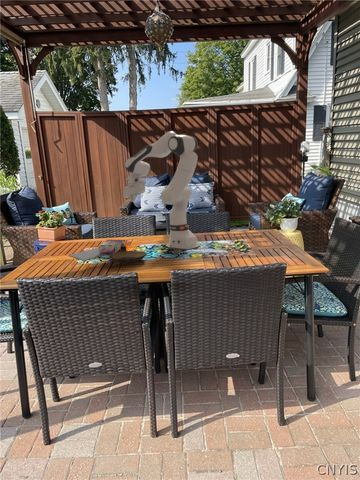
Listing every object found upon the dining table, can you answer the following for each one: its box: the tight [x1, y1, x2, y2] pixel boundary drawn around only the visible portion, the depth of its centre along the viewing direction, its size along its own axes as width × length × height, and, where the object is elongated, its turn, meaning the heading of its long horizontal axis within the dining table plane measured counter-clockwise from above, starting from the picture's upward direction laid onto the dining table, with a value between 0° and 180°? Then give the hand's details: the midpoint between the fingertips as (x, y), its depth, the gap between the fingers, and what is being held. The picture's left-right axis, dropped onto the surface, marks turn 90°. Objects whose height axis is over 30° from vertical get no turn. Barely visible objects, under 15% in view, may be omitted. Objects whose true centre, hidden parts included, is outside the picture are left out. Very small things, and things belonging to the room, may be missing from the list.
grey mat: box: [68, 247, 118, 261], centre depth 235 cm, size 20×24×2 cm
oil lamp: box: [107, 243, 148, 264], centre depth 213 cm, size 22×30×8 cm
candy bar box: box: [98, 239, 125, 253], centre depth 236 cm, size 11×5×16 cm
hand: (133, 201), depth 256 cm, fingers closed
